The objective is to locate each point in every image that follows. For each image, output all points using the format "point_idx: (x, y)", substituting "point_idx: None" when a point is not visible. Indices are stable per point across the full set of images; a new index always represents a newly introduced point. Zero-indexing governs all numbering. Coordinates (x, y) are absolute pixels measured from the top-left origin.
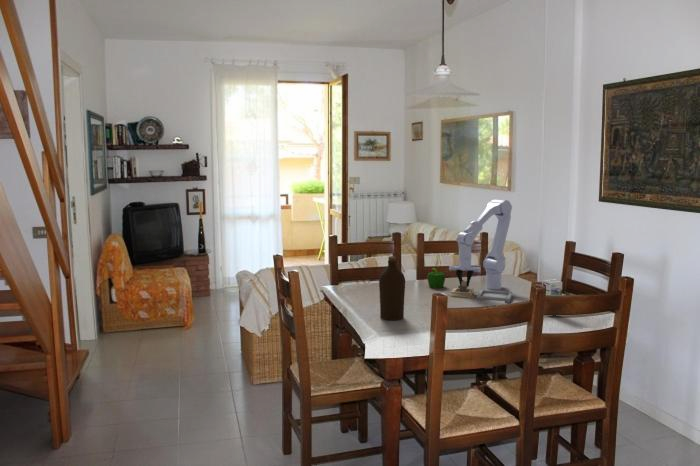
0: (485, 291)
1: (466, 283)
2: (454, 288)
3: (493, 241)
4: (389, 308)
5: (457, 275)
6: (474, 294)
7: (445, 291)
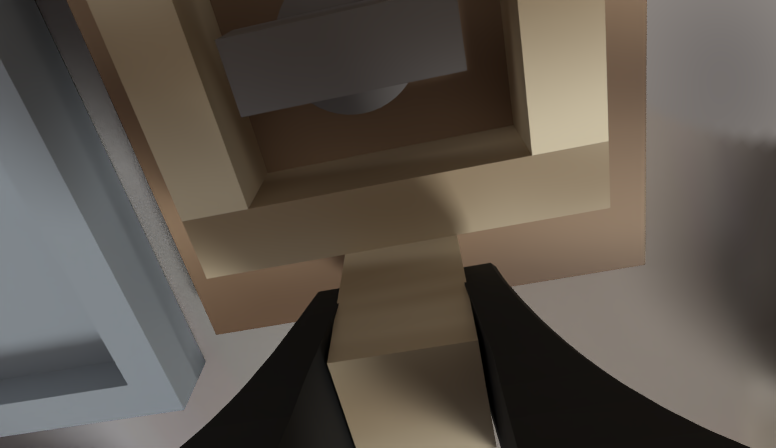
0: (102, 378)
1: (340, 324)
2: (594, 150)
3: None
4: None
5: (667, 415)
6: None
7: (757, 261)
